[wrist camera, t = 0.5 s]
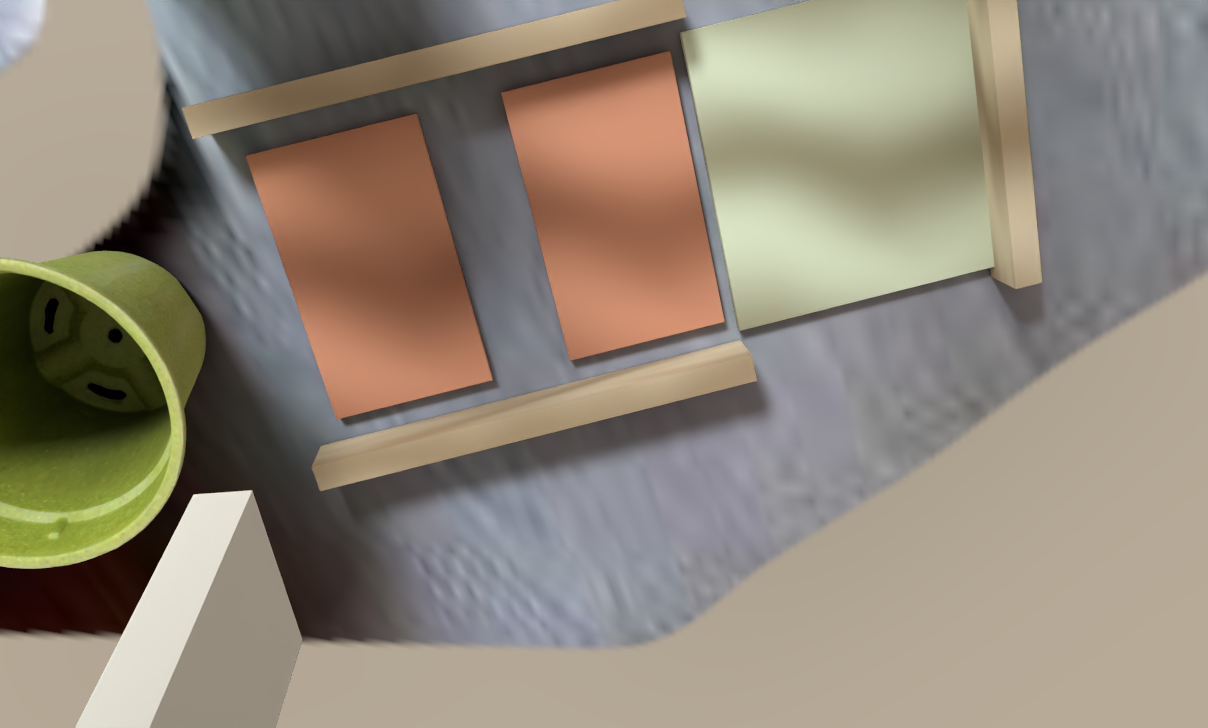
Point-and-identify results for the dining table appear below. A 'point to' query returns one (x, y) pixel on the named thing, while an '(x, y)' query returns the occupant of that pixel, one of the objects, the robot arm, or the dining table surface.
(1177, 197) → the dining table surface
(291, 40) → the dining table surface
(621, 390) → the trap box
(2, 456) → the plant pot
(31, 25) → the dining table surface
